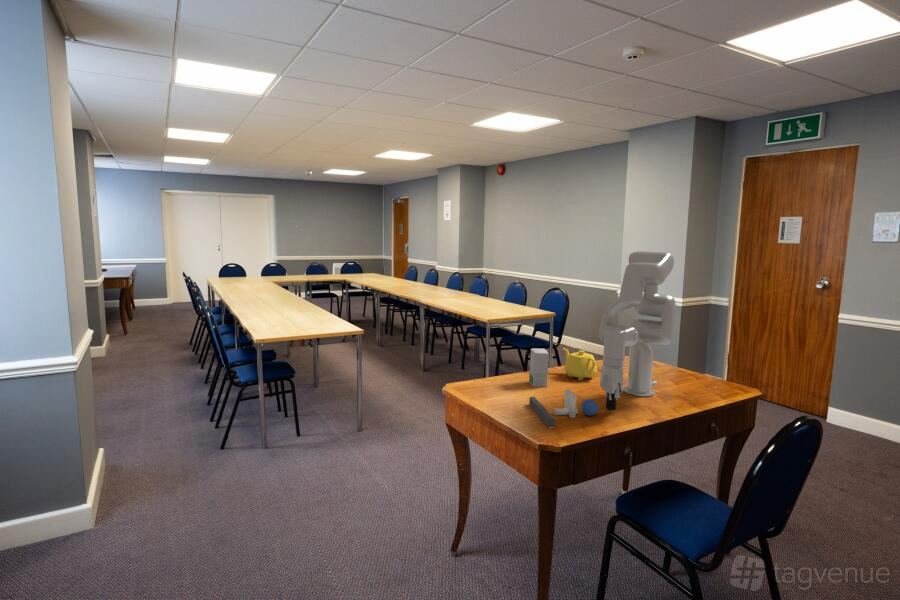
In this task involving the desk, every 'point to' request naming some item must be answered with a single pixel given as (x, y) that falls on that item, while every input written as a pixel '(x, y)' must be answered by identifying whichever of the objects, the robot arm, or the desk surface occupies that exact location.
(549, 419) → the bar
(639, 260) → the robot arm
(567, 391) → the back right pin
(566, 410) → the front pin
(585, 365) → the teapot
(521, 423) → the desk surface
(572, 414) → the back left pin
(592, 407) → the ball
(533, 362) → the skincare box
